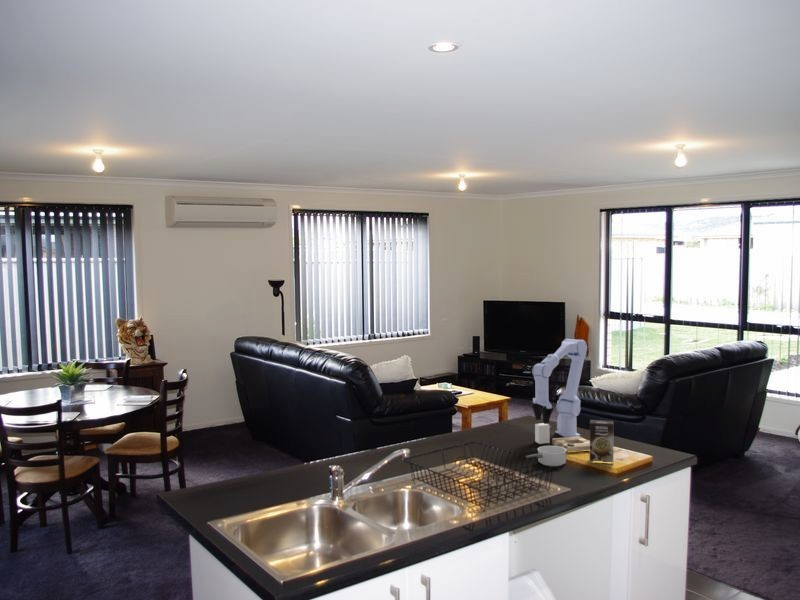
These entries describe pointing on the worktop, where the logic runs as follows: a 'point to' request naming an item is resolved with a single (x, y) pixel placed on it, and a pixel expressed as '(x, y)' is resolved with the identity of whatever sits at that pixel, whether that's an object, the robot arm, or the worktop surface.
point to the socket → (572, 443)
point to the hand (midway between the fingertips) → (542, 421)
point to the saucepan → (550, 455)
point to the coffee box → (601, 440)
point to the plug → (542, 433)
